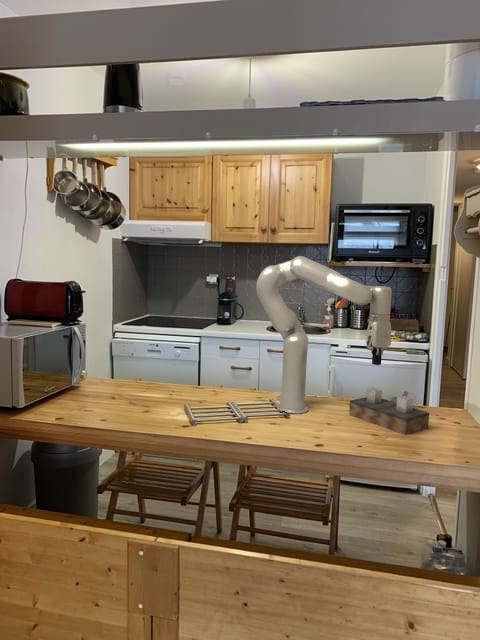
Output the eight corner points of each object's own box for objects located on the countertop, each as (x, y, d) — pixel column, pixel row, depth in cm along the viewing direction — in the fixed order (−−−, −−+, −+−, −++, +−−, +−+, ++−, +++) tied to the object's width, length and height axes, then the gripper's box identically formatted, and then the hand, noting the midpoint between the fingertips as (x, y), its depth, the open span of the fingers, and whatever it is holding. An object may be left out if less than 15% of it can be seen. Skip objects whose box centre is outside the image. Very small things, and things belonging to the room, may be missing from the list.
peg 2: (396, 413, 181) (397, 397, 180) (402, 411, 183) (403, 396, 183) (405, 416, 178) (406, 400, 177) (411, 414, 180) (413, 398, 179)
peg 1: (366, 403, 192) (367, 388, 191) (372, 402, 194) (373, 387, 194) (374, 406, 189) (375, 391, 188) (380, 404, 191) (381, 390, 191)
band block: (349, 415, 193) (350, 400, 192) (371, 409, 201) (372, 395, 200) (405, 434, 172) (406, 418, 171) (428, 428, 180) (429, 412, 180)
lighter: (389, 408, 204) (391, 390, 203) (389, 407, 205) (390, 389, 204) (407, 410, 202) (408, 391, 201) (406, 409, 204) (408, 390, 203)
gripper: (375, 319, 180) (371, 368, 182) (399, 318, 189) (396, 364, 191) (359, 317, 186) (356, 364, 188) (383, 316, 195) (380, 361, 197)
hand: (376, 364), depth 190 cm, fingers closed
